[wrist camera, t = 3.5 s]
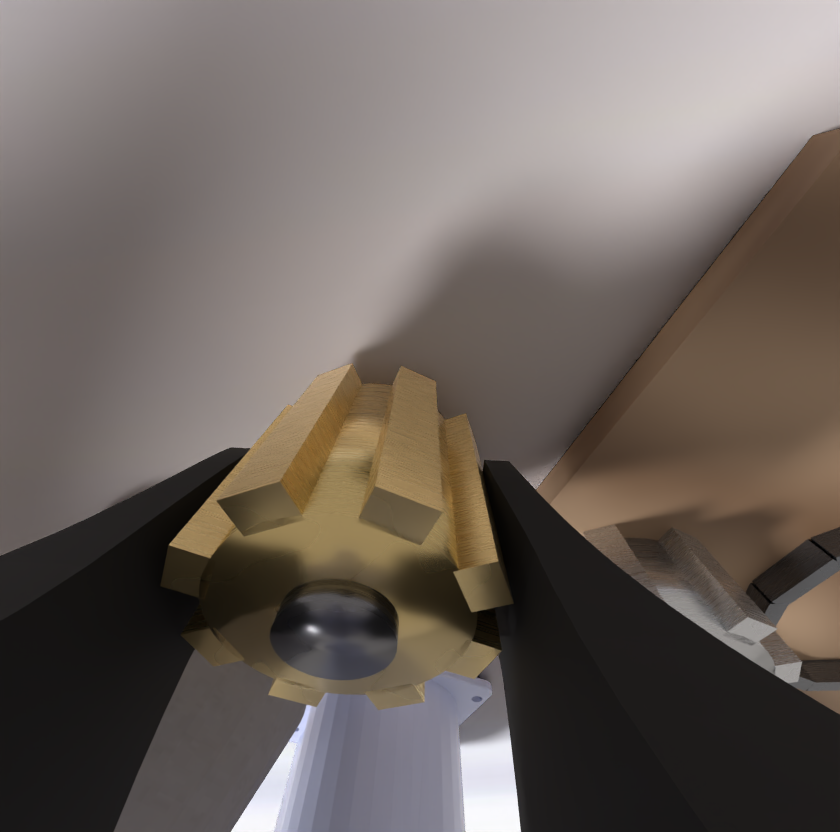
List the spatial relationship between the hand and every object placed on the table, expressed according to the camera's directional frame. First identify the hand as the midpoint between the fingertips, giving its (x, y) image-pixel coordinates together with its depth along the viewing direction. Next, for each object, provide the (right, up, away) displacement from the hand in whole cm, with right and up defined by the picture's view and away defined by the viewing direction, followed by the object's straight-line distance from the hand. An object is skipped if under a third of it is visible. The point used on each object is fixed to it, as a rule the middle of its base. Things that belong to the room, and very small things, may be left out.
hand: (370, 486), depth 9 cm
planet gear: (0, +1, +1) cm, 1 cm away
